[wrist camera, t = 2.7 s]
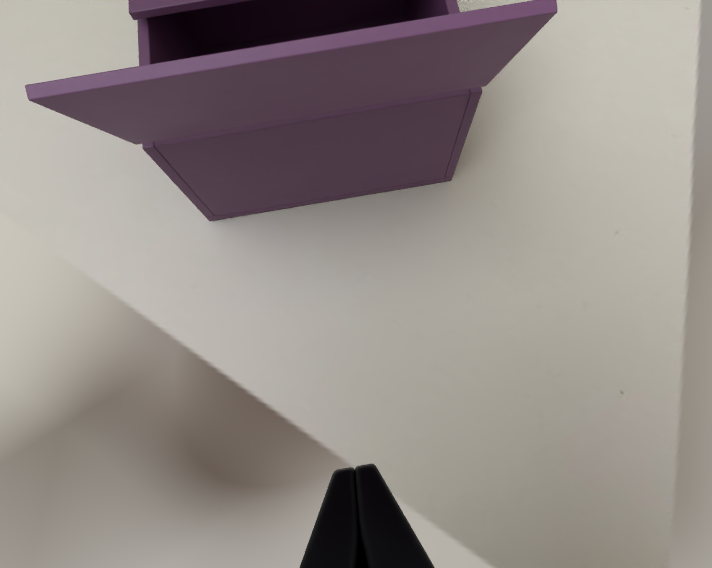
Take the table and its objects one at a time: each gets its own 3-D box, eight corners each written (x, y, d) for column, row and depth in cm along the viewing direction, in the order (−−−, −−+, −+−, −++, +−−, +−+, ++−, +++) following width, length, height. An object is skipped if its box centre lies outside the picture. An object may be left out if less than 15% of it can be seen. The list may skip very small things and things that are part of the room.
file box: (451, 181, 25) (487, 77, 17) (209, 221, 25) (131, 137, 17) (410, 14, 28) (425, -140, 20) (195, 50, 28) (124, -90, 20)
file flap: (485, 75, 17) (486, 86, 17) (133, 134, 17) (135, 144, 17) (556, -5, 11) (558, 12, 11) (23, 84, 11) (27, 100, 11)
